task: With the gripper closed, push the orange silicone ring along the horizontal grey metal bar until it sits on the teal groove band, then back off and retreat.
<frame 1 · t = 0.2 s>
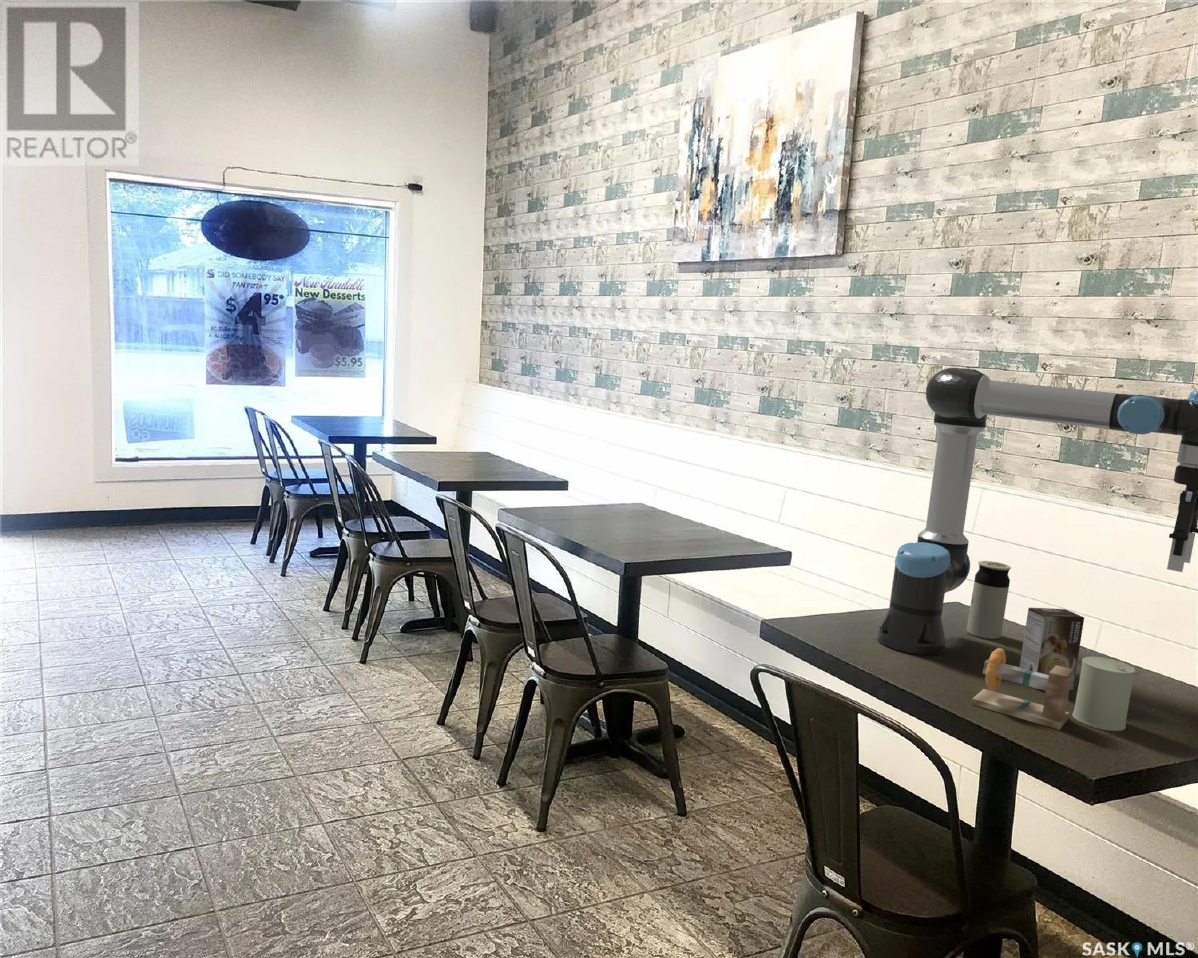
hand: (1178, 566, 201), 28 cm above the table, fingers open, 13 cm apart
pipe stand: (1019, 711, 185), on the table
can: (1098, 722, 184), on the table
ring: (995, 669, 187), point 7 cm above the table, slide at 0.0 cm
coffee box: (1044, 685, 203), on the table
travel mug: (983, 635, 237), on the table
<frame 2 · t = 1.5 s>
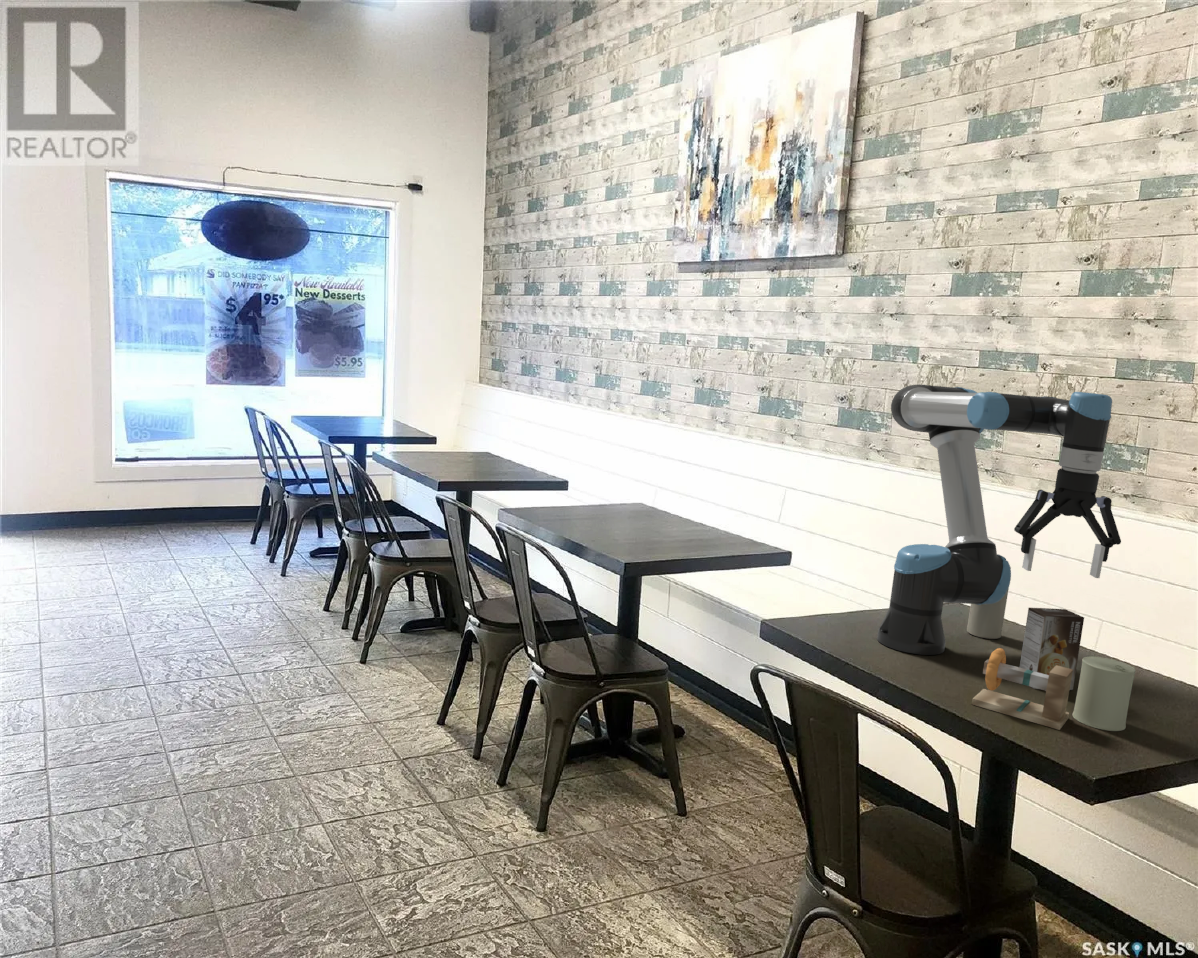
hand: (1060, 573, 194), 26 cm above the table, fingers open, 13 cm apart
nothing on the table moved.
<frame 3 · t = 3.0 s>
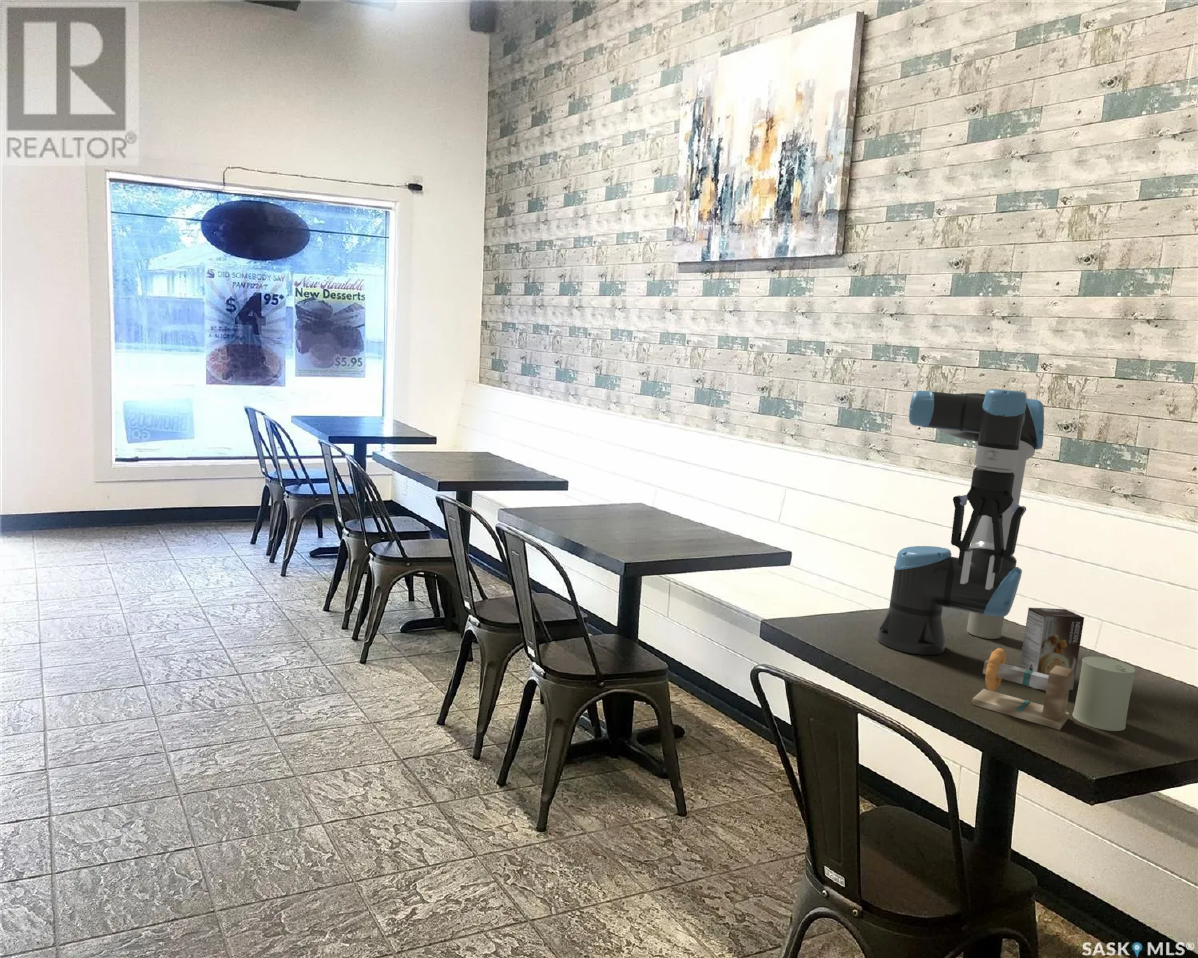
hand: (976, 585, 189), 23 cm above the table, fingers open, 4 cm apart
nothing on the table moved.
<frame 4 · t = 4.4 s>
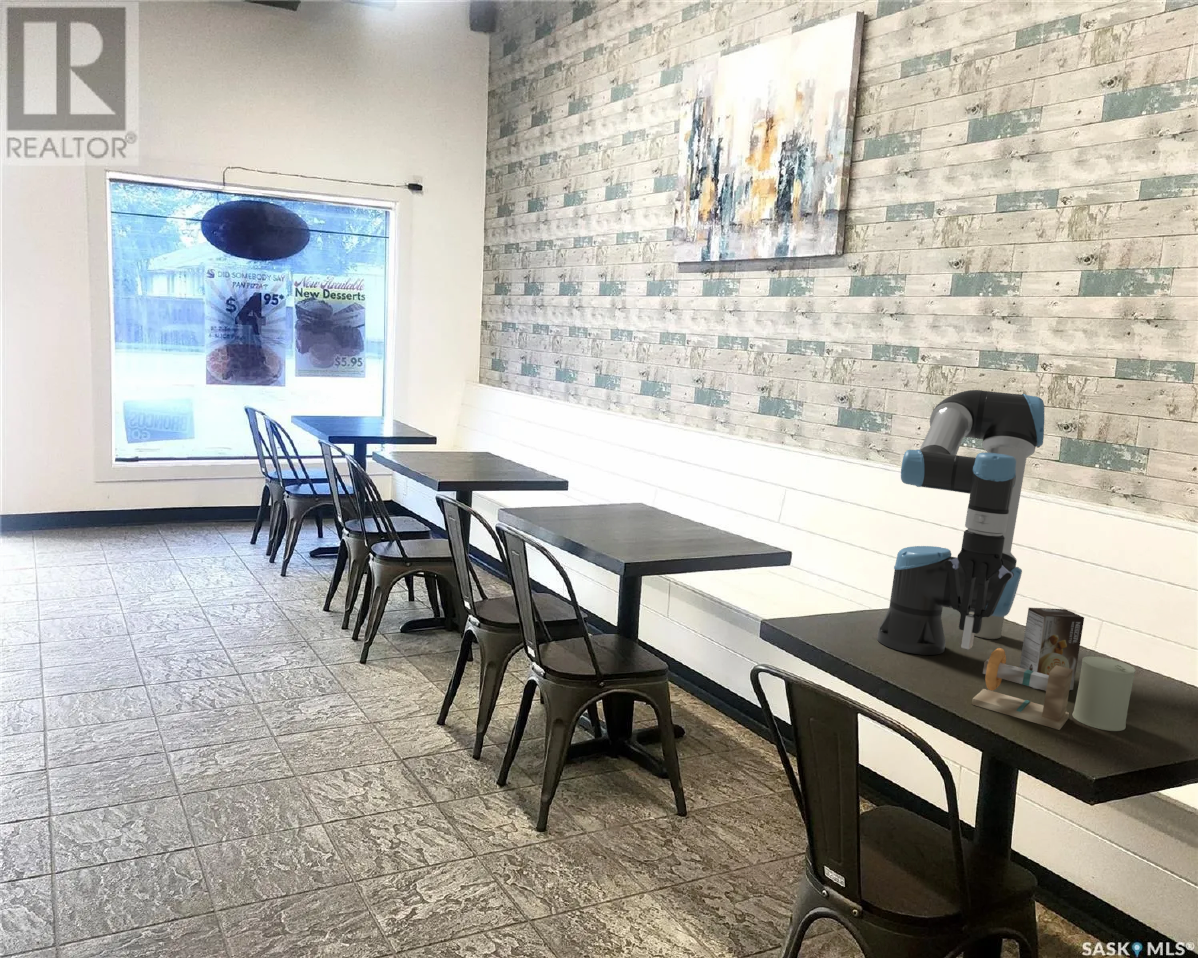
hand: (966, 647, 190), 10 cm above the table, fingers closed
nothing on the table moved.
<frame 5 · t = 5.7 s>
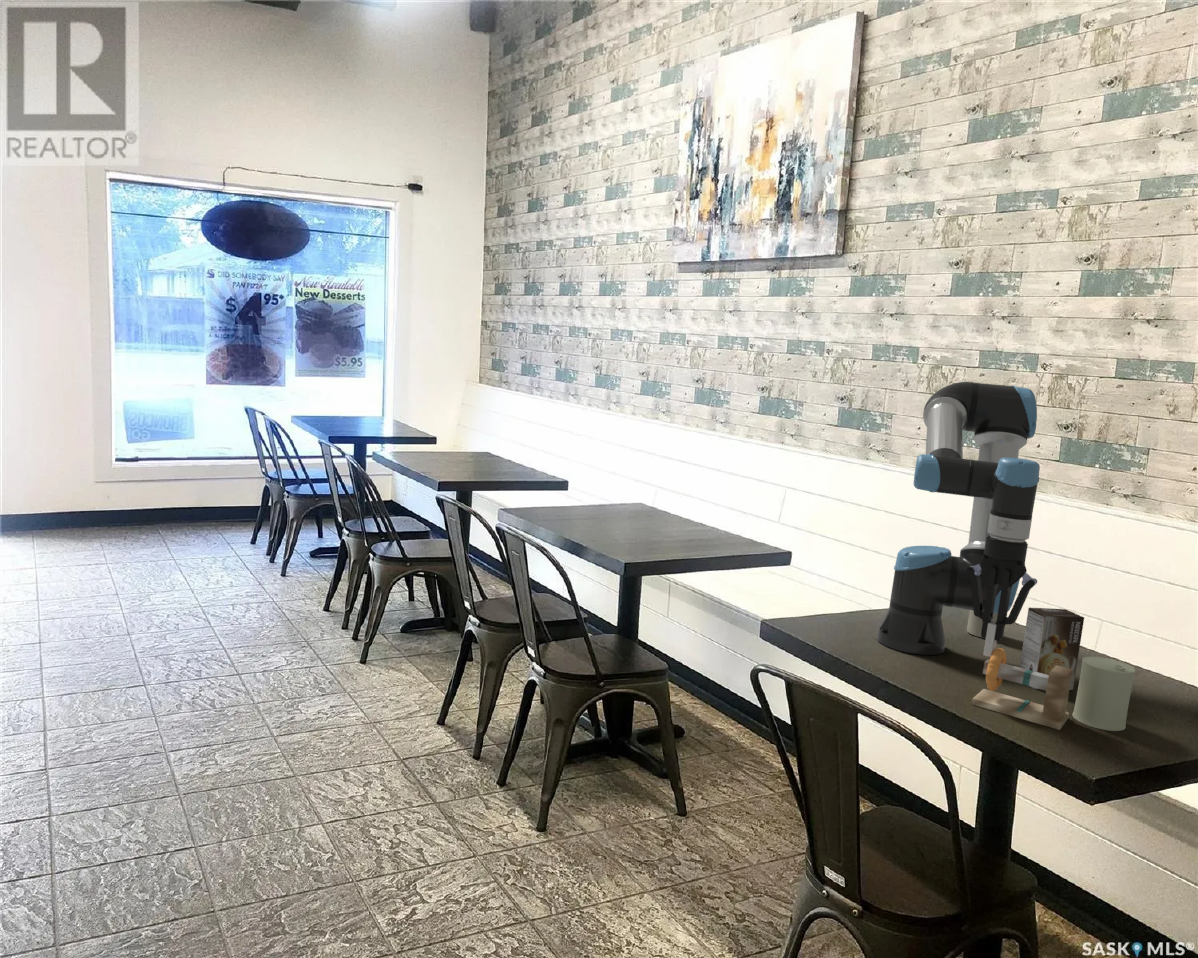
hand: (988, 654, 188), 10 cm above the table, fingers closed
ring: (996, 669, 187), point 7 cm above the table, slide at 0.1 cm, touching gripper
everything else where it was.
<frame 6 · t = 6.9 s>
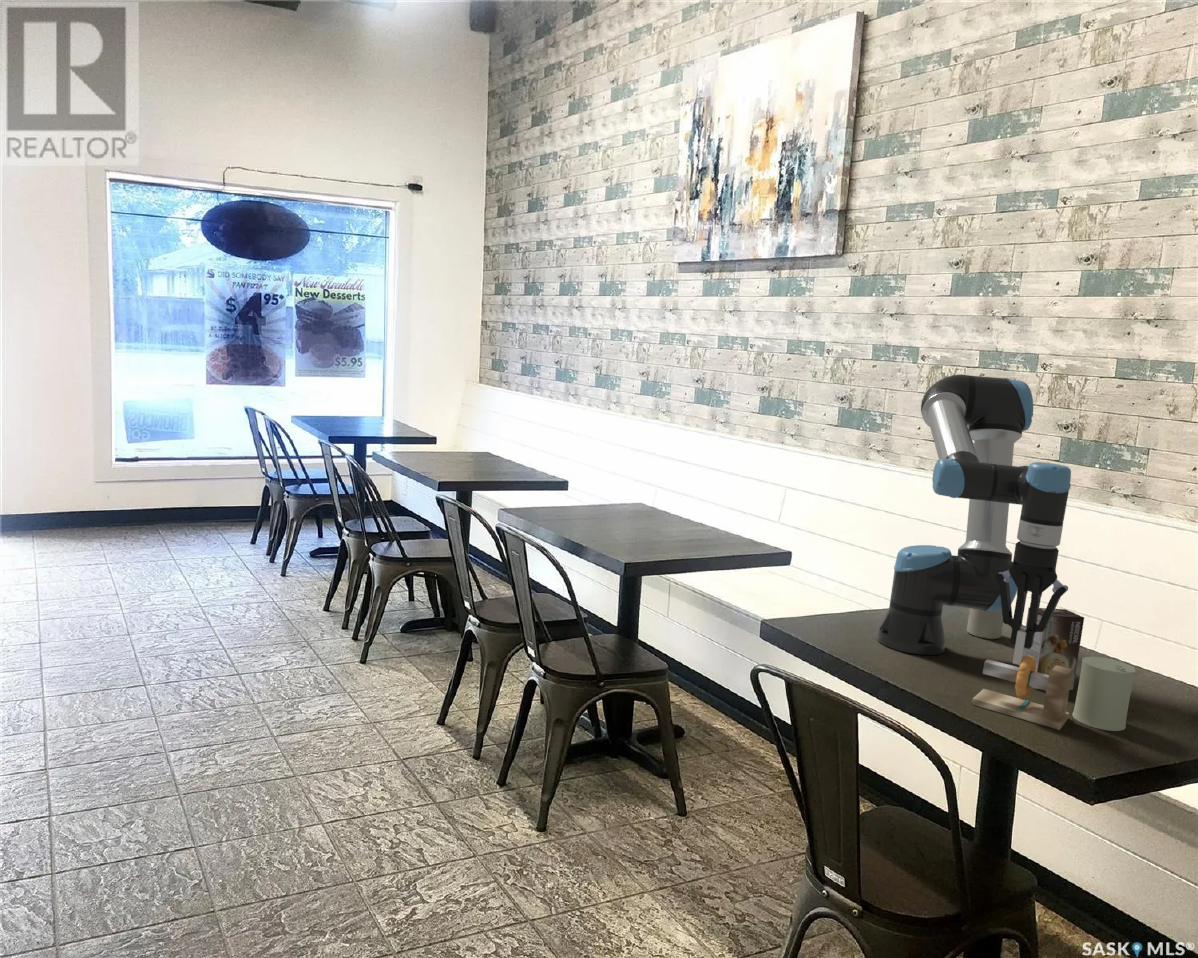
hand: (1018, 662, 185), 9 cm above the table, fingers closed
ring: (1025, 677, 184), point 7 cm above the table, slide at 5.6 cm, touching gripper
everything else where it was.
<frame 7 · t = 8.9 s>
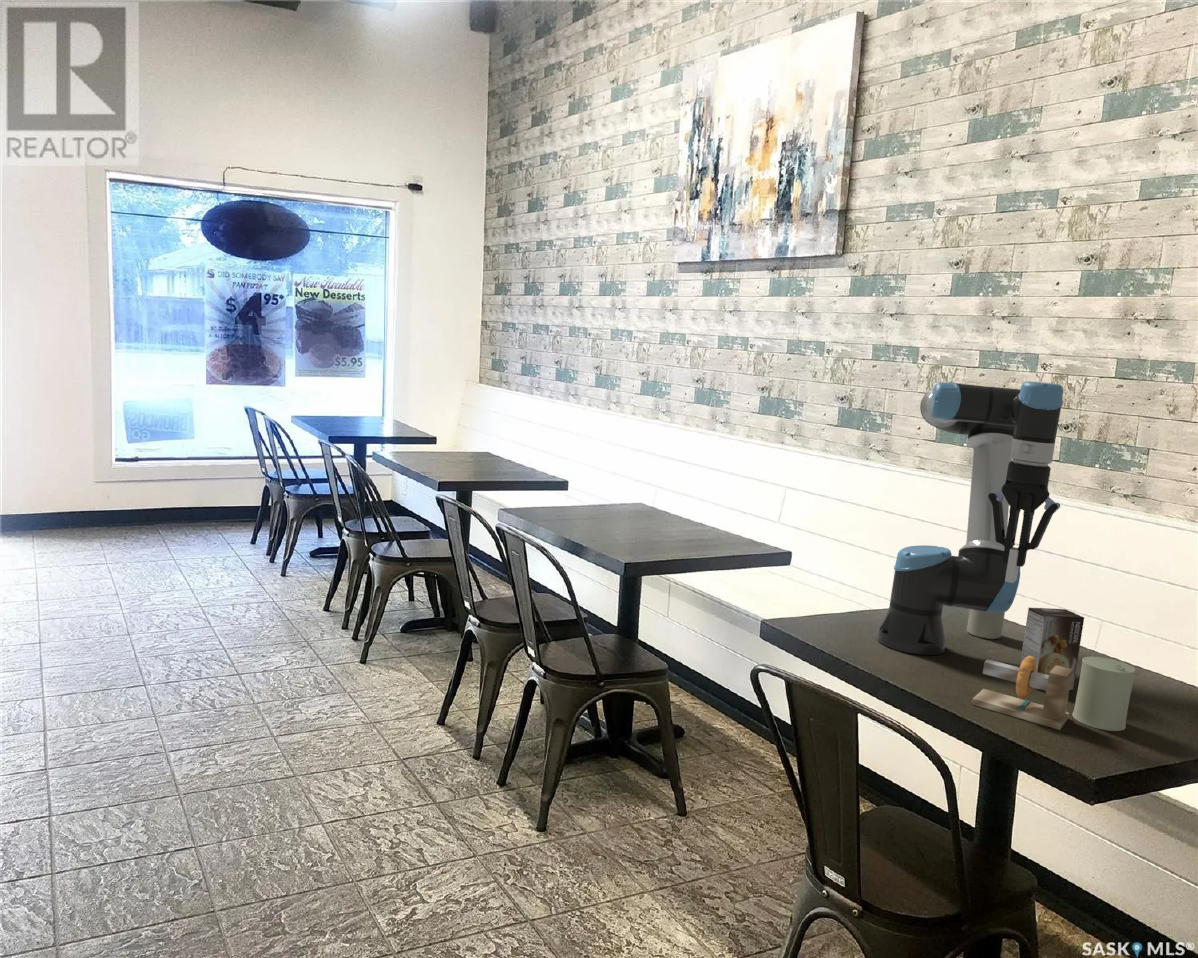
hand: (1010, 580, 187), 24 cm above the table, fingers closed
ring: (1026, 677, 184), point 7 cm above the table, slide at 5.7 cm
everything else where it was.
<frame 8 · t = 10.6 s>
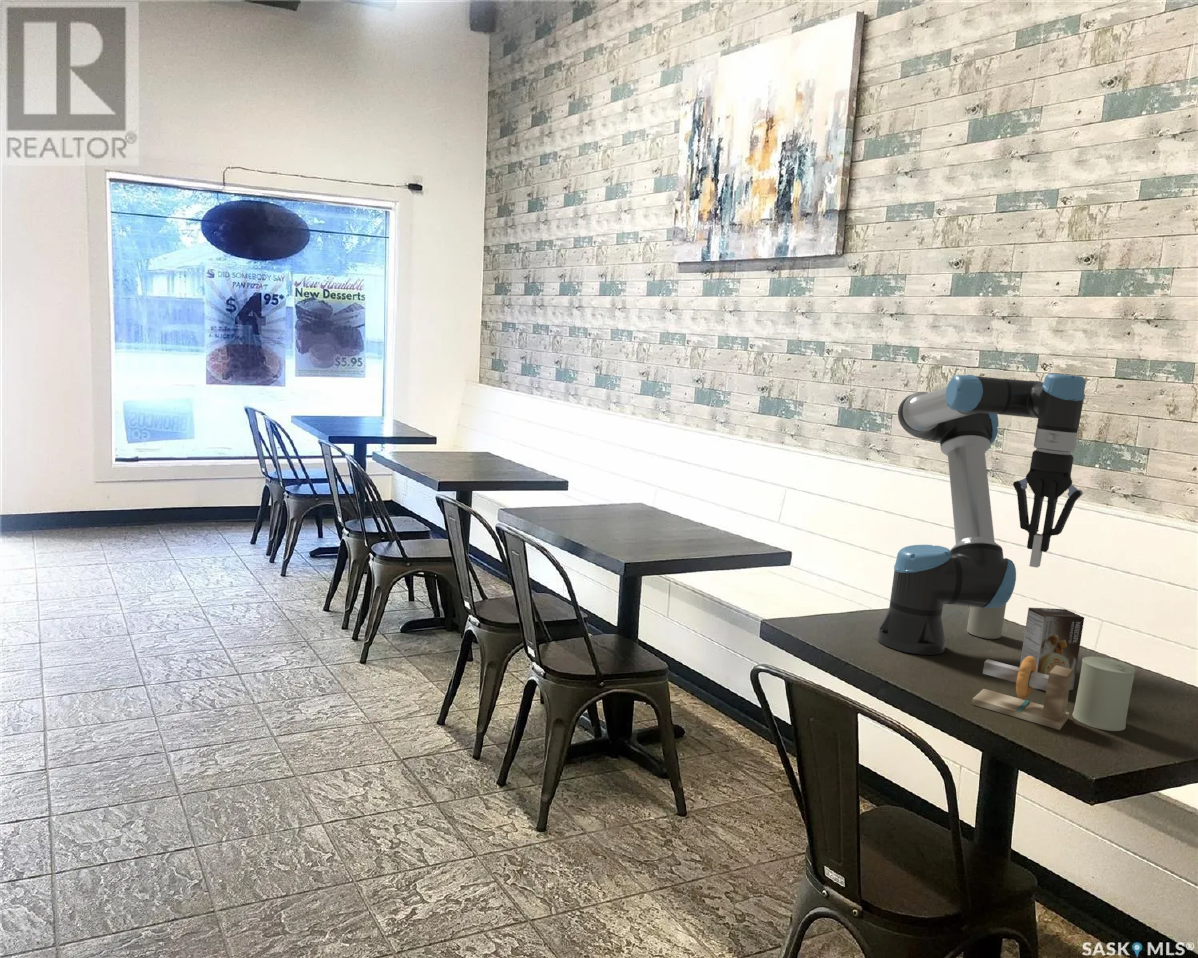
hand: (1034, 565, 194), 26 cm above the table, fingers closed
nothing on the table moved.
at the end: ring slide at 5.7 cm; ring moved 5.7 cm from its start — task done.
